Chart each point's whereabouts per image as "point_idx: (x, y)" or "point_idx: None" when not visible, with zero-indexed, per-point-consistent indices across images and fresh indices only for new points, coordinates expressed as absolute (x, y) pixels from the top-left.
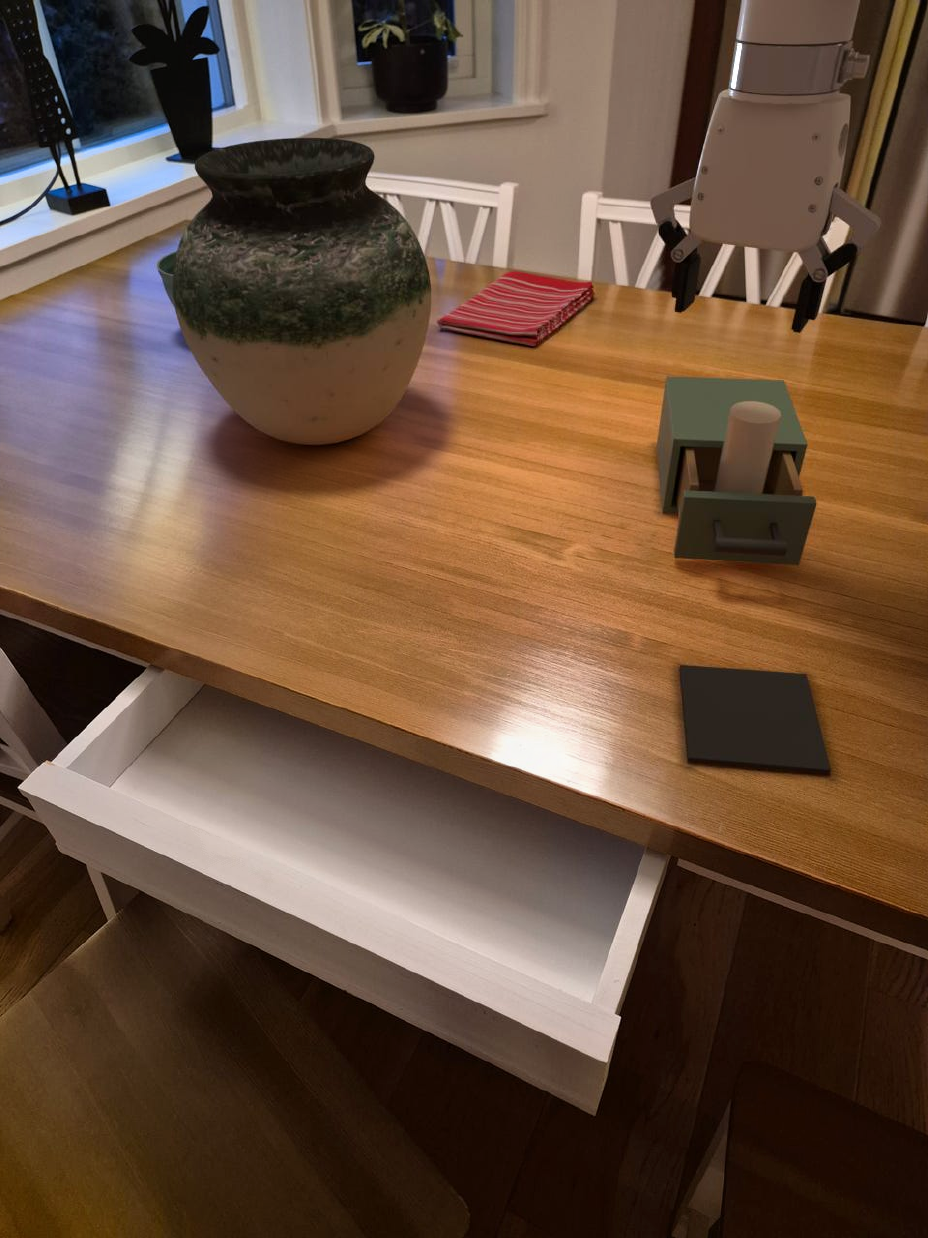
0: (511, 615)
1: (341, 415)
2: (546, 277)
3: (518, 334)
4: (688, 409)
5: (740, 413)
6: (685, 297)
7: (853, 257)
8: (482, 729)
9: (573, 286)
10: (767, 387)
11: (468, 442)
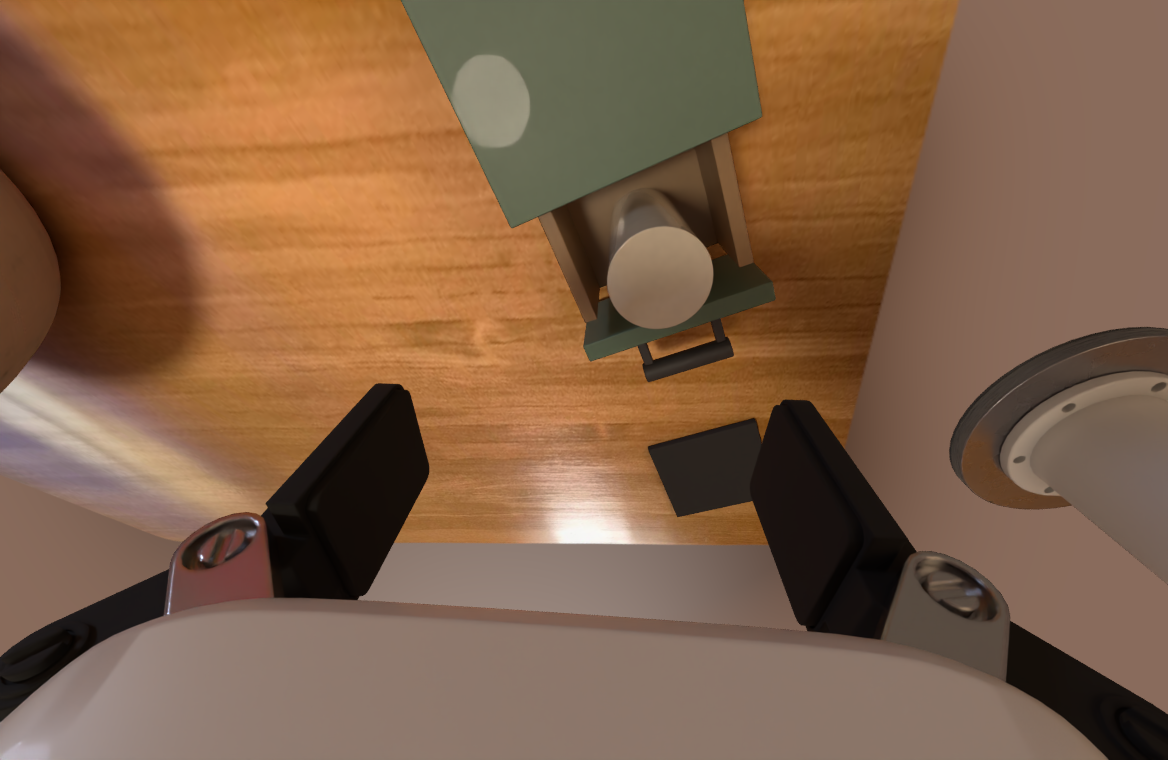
0: (490, 442)
1: (39, 331)
2: None
3: None
4: (477, 64)
5: (632, 301)
6: (412, 501)
7: None
8: (542, 531)
9: None
10: None
11: (157, 135)
